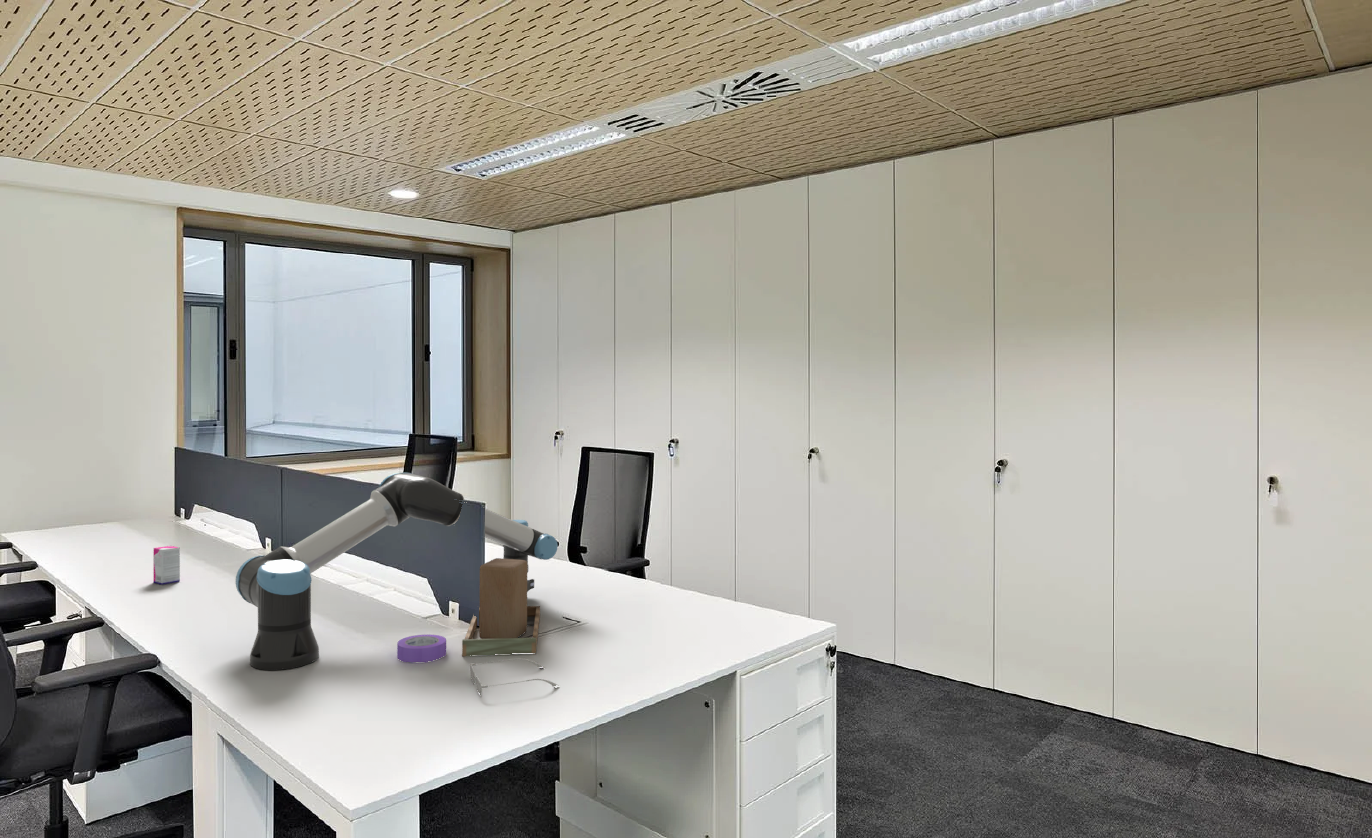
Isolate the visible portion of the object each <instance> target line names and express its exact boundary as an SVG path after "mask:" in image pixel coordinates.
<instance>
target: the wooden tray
mask: <svg viewBox="0 0 1372 838" xmlns="http://www.w3.org/2000/svg"><path fill="white" fill-rule="evenodd" d="M540 618H541V605H529V606H528V605H527V625H534V626H533V632H532V637H519V638H497V639H481V638H474V635H475V633H474V632H476V631H475V630H477V628H478V627H477V617H476V616H474V614H473V616H472V618H471V620H470V622H469V623H470V624H469V626H468V629H467V631H466V634H465V636H464V638H463V639H462V641H461V643H462V644H461V647H462V648H461V653H462V654H461V656H462V657H473V656H472V655H495V654H512V653H536V654H537V648H536V647H537V646H538V639H537V638H538V637H539V630H538V629H539V628H540V627H539V626H540V621H541V620H540ZM539 620H540V621H539ZM476 627H477V628H476ZM472 638H473V639H472ZM470 655H471V656H470Z"/></svg>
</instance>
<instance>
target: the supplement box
mask: <svg viewBox="0 0 1372 838" xmlns="http://www.w3.org/2000/svg"><path fill="white" fill-rule="evenodd" d="M180 551H181V549H180V547H178V546H175V545H174V546H172V545H167V546H158V547H153V584H157V585H161V586H166V585H170V584H176V583H178V582H180V581H181V579H180V577H181V574H180V573H181V568H180V567H181V565H180V564H181V563H180V562H181V556H180V555H181V552H180Z"/></svg>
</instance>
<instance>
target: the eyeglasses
mask: <svg viewBox="0 0 1372 838" xmlns="http://www.w3.org/2000/svg"><path fill="white" fill-rule="evenodd" d="M515 660H520V661H521V660H523V661H526V662H527V661H528V662H530V663H532V664H534V665H536V667H542V666H543V665H542V664H541V663H538V662H536V661H535V660H532V659H527V658H518V657H517V658H510V659H508V661H515ZM502 661H503V662H504V661H506V659H502V660H500V662H502ZM496 662H498V660H494V661H492V663H496ZM487 663H488V664H489V663H491V661H487V662H486V661H485V664H487ZM482 664H484V662H481V663H476V662H475V663H473V662H472V663H469V672H470V673H469V676H470V679H471V678H472V680H473V682H474V683H475V687H476V691H477V690H478V691H477V693H478V692H479V693H480V695H481V696H482V691H483V689H488V688H489V687H494V686H497V684H492V685H488V684H485V685H483V684H482V681H481V680H480V678H479V676H478V674H476V672H475V668H474V666H477V665H482ZM472 680H471V681H472ZM530 681H531V682H532V681H542V682H545V683H548V684H550V685H551V687H553V686H556V685H558V684H557V683H556V682H553V681H551V680H546V679H544V678H543V679H542V678H532V679H527V680H526V682H530ZM473 682H472V683H473ZM523 682H525V680H522V681H520V683H523ZM474 683H473V684H474ZM517 683H519V681H517V682H516V681H514V682H513V684H517ZM511 684H512V682H508V683H506V685H511ZM501 685H504V686H505V683H502V684H501V683H499V684H498V686H501ZM480 695H479V696H480Z"/></svg>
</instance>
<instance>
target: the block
mask: <svg viewBox="0 0 1372 838" xmlns="http://www.w3.org/2000/svg"><path fill="white" fill-rule="evenodd" d="M527 580H528V573H527V561H525V560H516V559H503V558H502V557H501V558H499V557H498V558H497V557H496V558H493V559H491V560H490V561H487V562H485V563H483V564H481V565H480V567H479V606H478V607H479V627H478V628H479V629H478V630H479V631H478V632H479V635H478V636H479V639H497V638H518V637H519V636H520V635H521V636H523V635H524V634H525V633H526V632H527V630H528V626H527V606H528V592H527ZM524 632H525V633H524ZM523 633H524V634H523ZM522 634H523V635H522ZM521 636H520V637H521ZM520 637H519V638H520Z"/></svg>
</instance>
